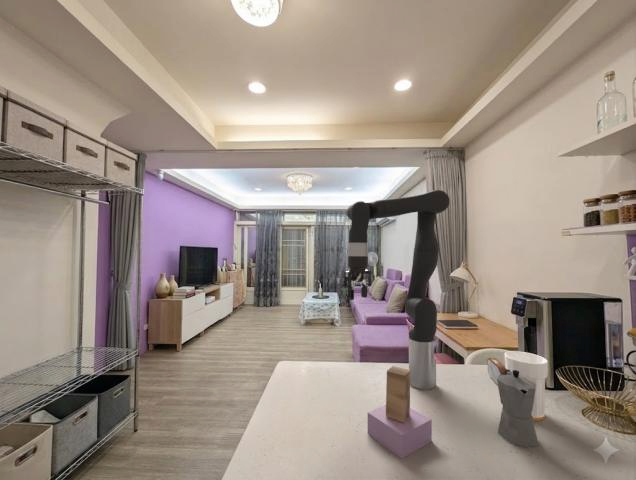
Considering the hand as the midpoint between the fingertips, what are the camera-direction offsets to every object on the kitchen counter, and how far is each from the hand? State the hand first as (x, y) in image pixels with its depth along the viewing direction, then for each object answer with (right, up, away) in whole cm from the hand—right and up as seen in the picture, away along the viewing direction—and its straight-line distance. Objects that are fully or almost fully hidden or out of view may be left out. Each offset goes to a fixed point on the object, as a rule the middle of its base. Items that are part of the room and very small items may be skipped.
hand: (357, 298), depth 109 cm
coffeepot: (+40, -33, -28) cm, 59 cm away
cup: (+51, -33, -16) cm, 63 cm away
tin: (+55, -34, +5) cm, 65 cm away
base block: (+7, -32, -29) cm, 44 cm away
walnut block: (+7, -26, -29) cm, 40 cm away
